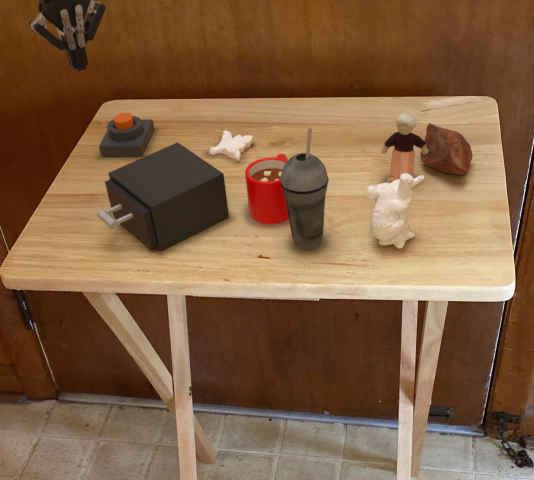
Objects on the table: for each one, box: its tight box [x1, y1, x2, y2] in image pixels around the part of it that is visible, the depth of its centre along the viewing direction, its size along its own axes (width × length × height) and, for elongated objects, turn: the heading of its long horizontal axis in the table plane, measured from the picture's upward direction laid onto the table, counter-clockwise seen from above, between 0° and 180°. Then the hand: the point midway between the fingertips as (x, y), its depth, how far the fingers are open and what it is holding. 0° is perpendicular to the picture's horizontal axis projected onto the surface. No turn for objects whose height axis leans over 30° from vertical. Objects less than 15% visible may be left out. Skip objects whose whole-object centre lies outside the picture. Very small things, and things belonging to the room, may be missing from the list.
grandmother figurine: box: [380, 112, 428, 183], centre depth 135 cm, size 8×4×13 cm, turn 89°
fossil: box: [419, 122, 473, 176], centre depth 140 cm, size 13×8×10 cm
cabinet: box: [107, 142, 230, 252], centre depth 134 cm, size 14×14×9 cm
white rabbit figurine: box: [365, 173, 425, 250], centre depth 124 cm, size 8×7×12 cm
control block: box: [98, 115, 155, 157], centre depth 155 cm, size 10×8×4 cm
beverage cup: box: [280, 127, 330, 252], centre depth 122 cm, size 7×7×20 cm
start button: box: [113, 112, 134, 130], centre depth 154 cm, size 4×4×2 cm
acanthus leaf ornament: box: [208, 130, 254, 162], centre depth 151 cm, size 8×7×2 cm
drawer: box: [96, 178, 158, 249], centre depth 133 cm, size 17×12×7 cm
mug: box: [244, 153, 289, 225], centre depth 135 cm, size 8×12×8 cm, turn 164°
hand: (79, 69), depth 134 cm, fingers closed
